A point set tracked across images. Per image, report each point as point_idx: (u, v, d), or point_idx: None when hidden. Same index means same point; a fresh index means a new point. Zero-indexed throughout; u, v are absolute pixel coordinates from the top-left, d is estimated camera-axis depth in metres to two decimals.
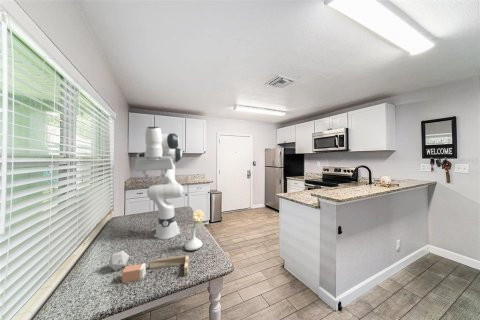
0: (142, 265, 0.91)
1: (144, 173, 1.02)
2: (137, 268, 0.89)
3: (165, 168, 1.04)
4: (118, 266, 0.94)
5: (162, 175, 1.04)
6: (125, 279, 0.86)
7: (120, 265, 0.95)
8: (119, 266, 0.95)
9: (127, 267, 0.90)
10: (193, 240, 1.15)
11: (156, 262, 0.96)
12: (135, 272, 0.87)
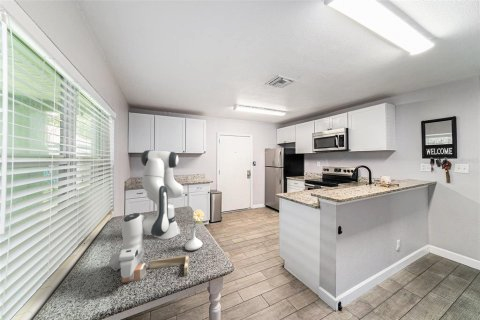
0: (142, 265, 0.91)
1: (133, 273, 0.86)
2: (137, 268, 0.89)
3: (141, 256, 0.95)
4: (118, 266, 0.94)
5: None
6: (125, 279, 0.86)
7: None
8: (119, 266, 0.95)
9: None
10: (193, 240, 1.15)
11: (156, 262, 0.96)
12: (135, 272, 0.87)
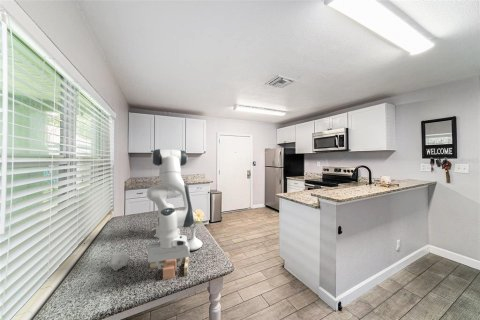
0: None
1: None
2: (172, 261, 0.94)
3: None
4: (118, 266, 0.94)
5: (161, 264, 0.92)
6: (174, 273, 0.90)
7: (120, 265, 0.95)
8: (119, 266, 0.95)
9: (166, 268, 0.89)
10: (193, 240, 1.15)
11: None
12: (175, 263, 0.94)
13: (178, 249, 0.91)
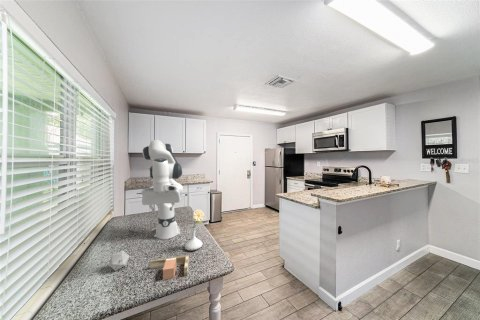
0: (169, 259, 0.95)
1: None
2: (172, 261, 0.94)
3: None
4: (118, 266, 0.94)
5: None
6: (174, 273, 0.90)
7: (120, 265, 0.95)
8: (119, 266, 0.95)
9: (166, 268, 0.89)
10: (193, 240, 1.15)
11: (156, 262, 0.96)
12: (175, 263, 0.94)
13: (170, 194, 1.01)
